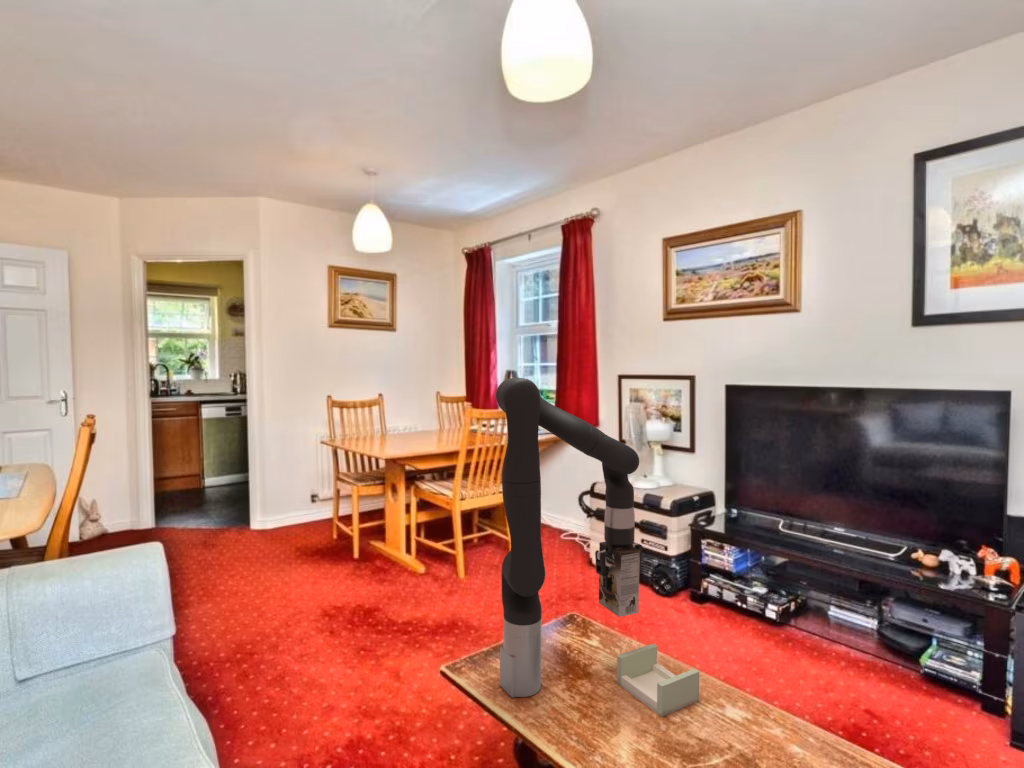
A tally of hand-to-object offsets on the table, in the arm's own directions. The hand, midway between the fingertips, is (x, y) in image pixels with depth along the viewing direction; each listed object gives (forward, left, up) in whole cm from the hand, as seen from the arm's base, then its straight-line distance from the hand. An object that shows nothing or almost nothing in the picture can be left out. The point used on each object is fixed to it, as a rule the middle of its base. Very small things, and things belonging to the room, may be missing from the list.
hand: (618, 587), depth 141 cm
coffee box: (0, 0, -6) cm, 6 cm away
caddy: (+2, -11, -22) cm, 25 cm away
